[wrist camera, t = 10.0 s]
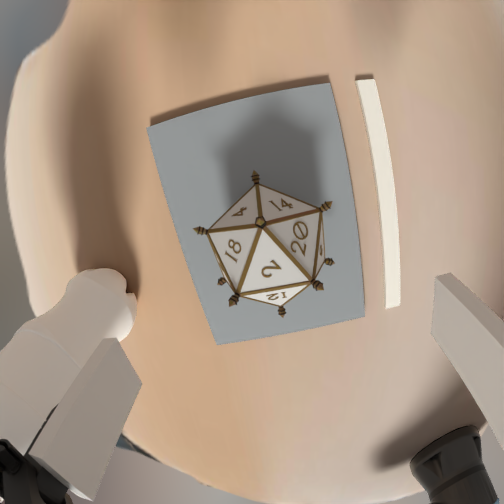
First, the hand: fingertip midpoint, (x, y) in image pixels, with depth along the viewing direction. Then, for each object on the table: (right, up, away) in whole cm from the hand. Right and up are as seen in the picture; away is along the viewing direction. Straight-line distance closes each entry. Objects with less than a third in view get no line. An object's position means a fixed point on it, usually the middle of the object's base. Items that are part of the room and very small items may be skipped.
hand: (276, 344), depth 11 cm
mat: (0, +6, +13) cm, 14 cm away
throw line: (+10, +8, +12) cm, 17 cm away
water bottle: (-15, 0, +16) cm, 22 cm away
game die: (0, +5, +12) cm, 13 cm away
